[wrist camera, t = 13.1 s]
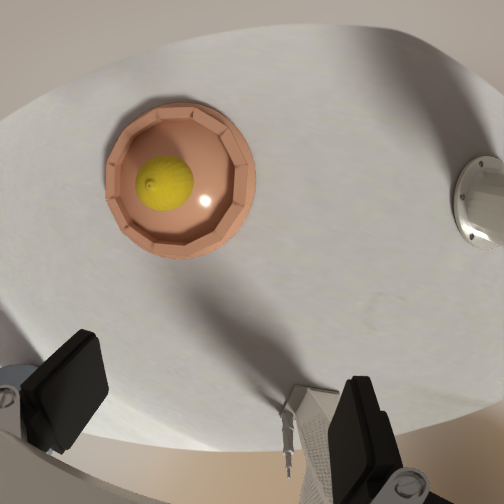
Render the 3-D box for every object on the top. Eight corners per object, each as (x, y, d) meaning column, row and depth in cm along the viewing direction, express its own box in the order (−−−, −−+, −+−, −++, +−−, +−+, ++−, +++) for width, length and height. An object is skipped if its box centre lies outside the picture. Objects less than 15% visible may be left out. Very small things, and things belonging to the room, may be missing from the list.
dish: (261, 105, 30) (260, 100, 28) (250, 262, 35) (248, 270, 33) (114, 108, 31) (104, 105, 29) (111, 250, 36) (101, 255, 34)
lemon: (146, 176, 32) (111, 180, 25) (183, 146, 31) (156, 140, 24) (172, 215, 33) (144, 229, 26) (211, 186, 32) (192, 192, 25)
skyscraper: (298, 377, 40) (310, 569, 13) (349, 385, 40) (393, 559, 13) (279, 415, 42) (276, 582, 15) (327, 422, 42) (348, 578, 15)
